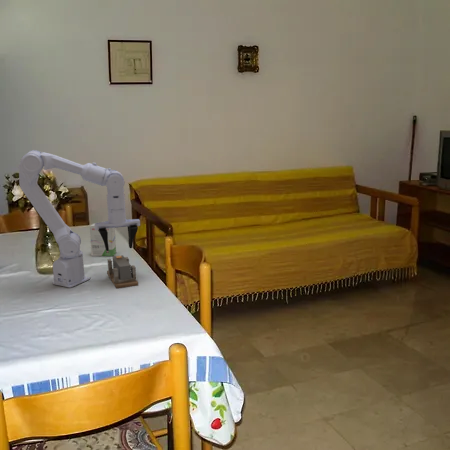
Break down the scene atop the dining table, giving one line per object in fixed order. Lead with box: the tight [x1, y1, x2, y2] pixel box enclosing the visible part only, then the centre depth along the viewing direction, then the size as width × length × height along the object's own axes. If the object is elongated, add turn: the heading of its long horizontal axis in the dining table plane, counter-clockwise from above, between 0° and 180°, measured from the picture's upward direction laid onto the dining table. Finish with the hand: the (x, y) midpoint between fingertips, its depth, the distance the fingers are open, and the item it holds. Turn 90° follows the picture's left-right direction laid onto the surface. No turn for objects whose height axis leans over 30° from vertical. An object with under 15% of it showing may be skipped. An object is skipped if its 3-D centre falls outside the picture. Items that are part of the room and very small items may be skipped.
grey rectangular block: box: [112, 255, 132, 280], centre depth 175 cm, size 12×4×5 cm, turn 22°
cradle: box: [106, 256, 139, 289], centre depth 176 cm, size 16×7×6 cm, turn 22°
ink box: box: [89, 223, 117, 257], centre depth 203 cm, size 9×5×12 cm, turn 84°
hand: (118, 248), depth 176 cm, fingers open, 7 cm apart
